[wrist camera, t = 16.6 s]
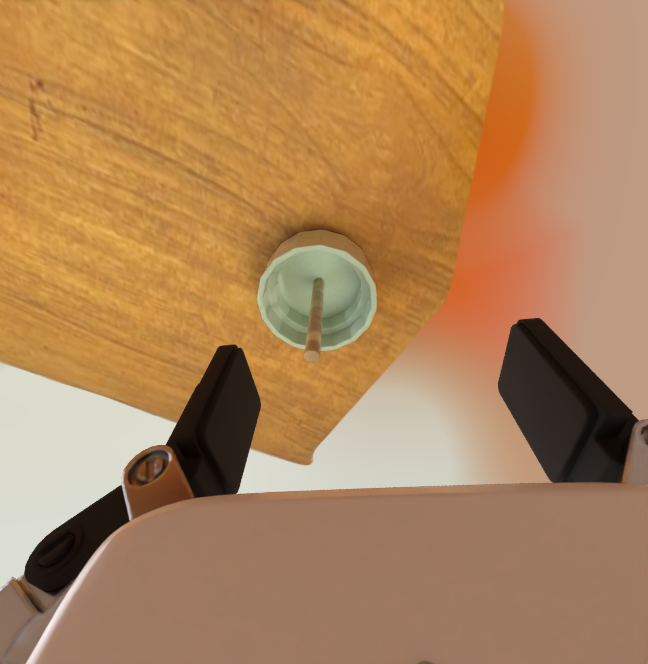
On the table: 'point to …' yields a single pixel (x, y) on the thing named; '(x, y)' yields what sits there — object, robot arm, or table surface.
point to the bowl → (297, 284)
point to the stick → (315, 323)
